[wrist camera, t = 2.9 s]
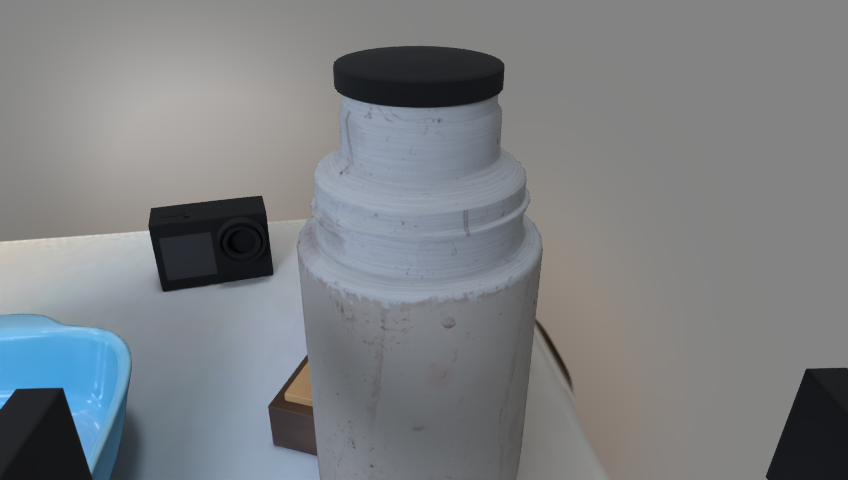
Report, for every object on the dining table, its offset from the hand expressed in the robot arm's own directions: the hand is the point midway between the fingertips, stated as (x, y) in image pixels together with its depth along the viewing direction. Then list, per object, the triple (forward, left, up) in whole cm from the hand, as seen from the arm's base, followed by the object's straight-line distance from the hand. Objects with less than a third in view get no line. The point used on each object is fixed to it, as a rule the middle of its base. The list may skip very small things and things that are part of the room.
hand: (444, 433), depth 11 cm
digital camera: (+32, -36, -23) cm, 54 cm away
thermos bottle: (+3, -9, -23) cm, 25 cm away
